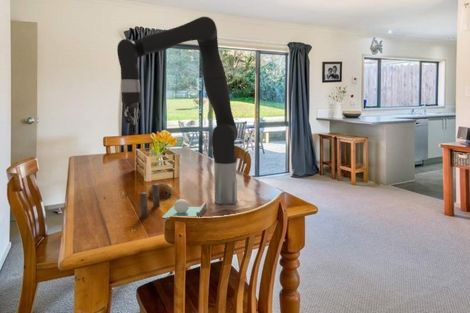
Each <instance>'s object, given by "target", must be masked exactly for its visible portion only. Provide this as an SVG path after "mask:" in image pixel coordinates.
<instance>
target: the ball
mask: <svg viewBox="0 0 470 313" xmlns="http://www.w3.org/2000/svg"><path fill="white" fill-rule="evenodd" d="M173 206H174V208H175V211H176V212H178V213H180V214H183V213H185V212H187V210H188V208H189V207H190V206H189V202H188V201H187V200H185V199H184V198H183V199H182V198H181V199H177V200H175V203H174V205H173Z"/></svg>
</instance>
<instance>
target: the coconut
mask: <svg viewBox="0 0 470 313" xmlns="http://www.w3.org/2000/svg"><path fill="white" fill-rule="evenodd" d="M155 184H159V200H164V199H168V198H170V197H171V196H172V193H173V191H172V188H171V186H169V185H168V184H167V183H165V182H157V183H155ZM148 196H149V198H151V199H153V190H152V185H151V186H150V187H149V189H148Z"/></svg>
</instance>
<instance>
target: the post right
mask: <svg viewBox="0 0 470 313" xmlns="http://www.w3.org/2000/svg"><path fill="white" fill-rule="evenodd" d="M151 186H152V190H153V198H152V206H153V207H154V208H159V207H160V205H161V203H160V200H161V199H159V184H156V183H153V184H152V185H151Z"/></svg>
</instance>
